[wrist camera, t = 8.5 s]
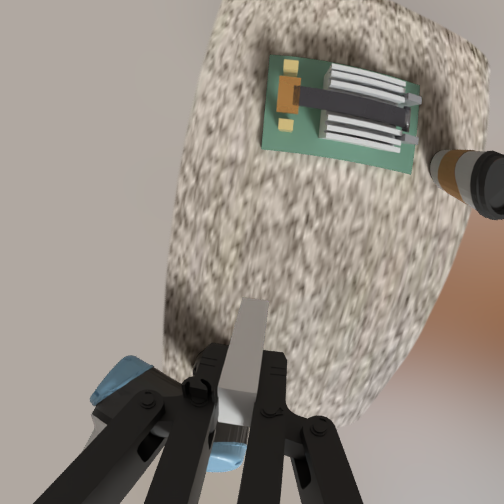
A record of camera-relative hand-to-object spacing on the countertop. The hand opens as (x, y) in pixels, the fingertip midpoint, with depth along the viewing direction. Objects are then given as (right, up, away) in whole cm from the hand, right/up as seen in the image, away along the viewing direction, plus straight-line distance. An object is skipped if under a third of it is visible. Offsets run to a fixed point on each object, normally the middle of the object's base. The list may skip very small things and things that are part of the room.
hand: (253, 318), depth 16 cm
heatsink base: (+13, +23, +17) cm, 32 cm away
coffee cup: (+30, +17, +18) cm, 39 cm away
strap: (+11, +21, +11) cm, 26 cm away
